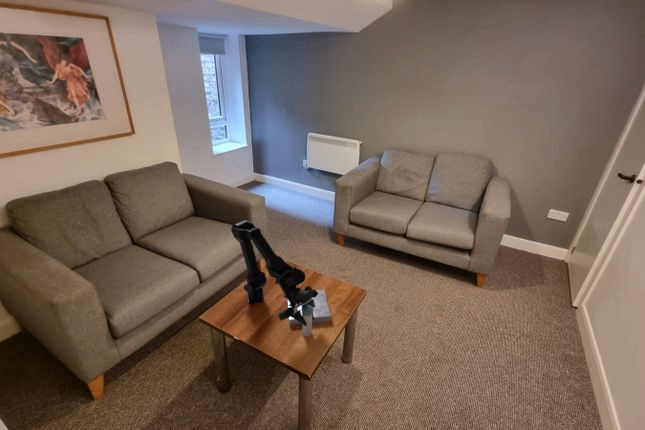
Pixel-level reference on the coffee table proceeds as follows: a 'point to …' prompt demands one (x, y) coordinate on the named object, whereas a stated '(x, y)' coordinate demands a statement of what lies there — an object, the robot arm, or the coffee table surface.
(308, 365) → the coffee table surface
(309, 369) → the coffee table surface
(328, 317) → the housing
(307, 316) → the plug
